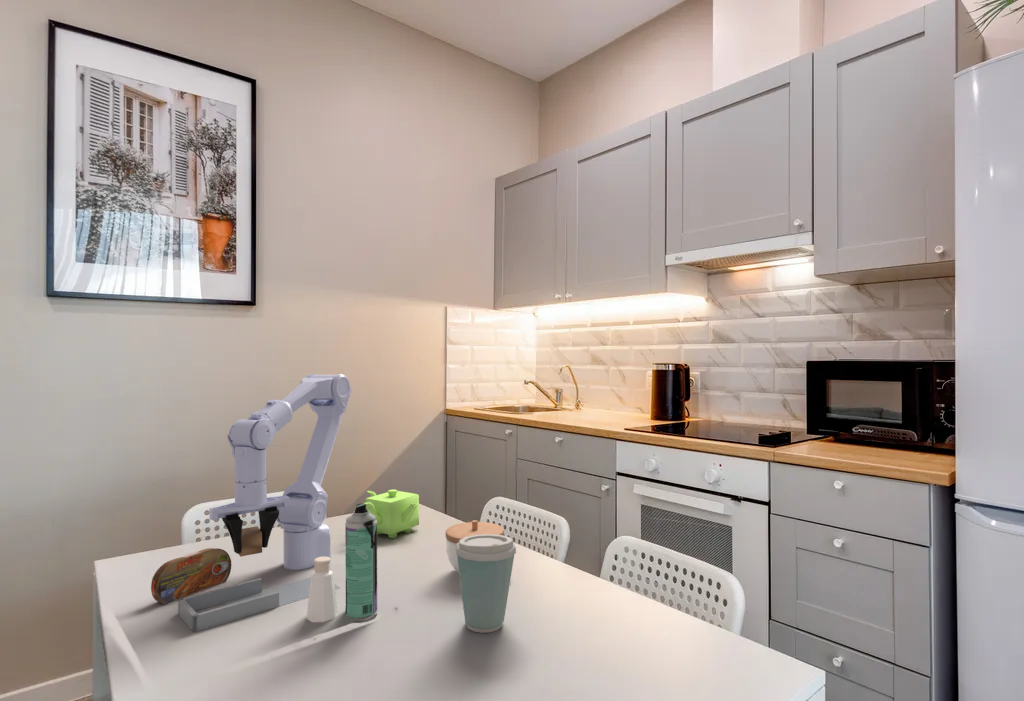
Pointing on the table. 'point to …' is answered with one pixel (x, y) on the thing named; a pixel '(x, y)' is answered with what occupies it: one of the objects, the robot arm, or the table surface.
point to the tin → (190, 574)
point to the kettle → (394, 511)
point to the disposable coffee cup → (485, 579)
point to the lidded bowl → (466, 530)
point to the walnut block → (251, 541)
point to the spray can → (361, 564)
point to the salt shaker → (322, 592)
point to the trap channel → (239, 602)
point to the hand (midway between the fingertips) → (251, 549)
